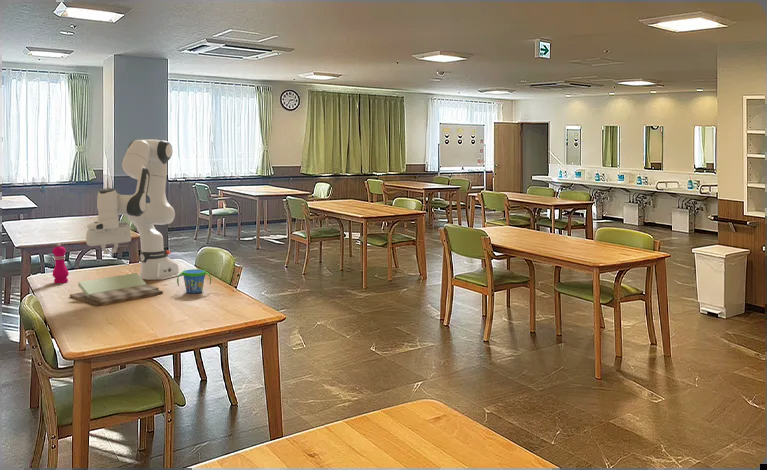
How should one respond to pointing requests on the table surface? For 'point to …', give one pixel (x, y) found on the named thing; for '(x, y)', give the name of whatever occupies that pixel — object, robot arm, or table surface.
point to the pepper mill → (60, 265)
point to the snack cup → (194, 280)
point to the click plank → (111, 283)
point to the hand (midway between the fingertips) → (110, 253)
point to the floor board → (85, 299)
